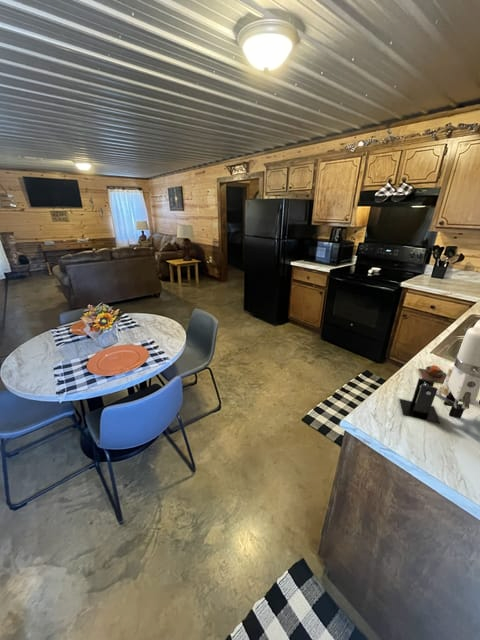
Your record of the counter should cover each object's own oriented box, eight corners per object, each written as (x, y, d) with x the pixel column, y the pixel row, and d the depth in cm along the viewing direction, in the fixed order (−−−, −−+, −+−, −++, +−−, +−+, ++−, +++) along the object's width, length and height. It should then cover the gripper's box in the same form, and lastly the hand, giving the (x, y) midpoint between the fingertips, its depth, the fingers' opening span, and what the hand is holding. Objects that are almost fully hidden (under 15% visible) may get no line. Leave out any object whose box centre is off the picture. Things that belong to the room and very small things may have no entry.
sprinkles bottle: (446, 390, 106) (457, 361, 101) (457, 397, 102) (468, 368, 97) (436, 391, 106) (447, 363, 100) (447, 398, 101) (458, 369, 96)
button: (437, 369, 115) (438, 366, 114) (439, 373, 112) (441, 370, 111) (429, 368, 116) (430, 364, 115) (430, 371, 113) (432, 368, 112)
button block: (443, 375, 116) (446, 368, 115) (449, 386, 109) (452, 379, 107) (417, 370, 119) (419, 364, 118) (421, 381, 112) (424, 374, 111)
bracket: (432, 409, 96) (443, 380, 91) (439, 426, 89) (451, 395, 84) (398, 401, 100) (407, 373, 95) (402, 417, 92) (411, 387, 87)
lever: (451, 403, 91) (456, 399, 90) (455, 412, 87) (461, 408, 86) (418, 383, 93) (423, 379, 92) (421, 392, 89) (426, 387, 88)
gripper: (497, 383, 74) (474, 432, 81) (474, 355, 89) (456, 398, 96) (465, 377, 77) (445, 425, 84) (447, 351, 91) (432, 393, 98)
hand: (451, 410), depth 90 cm, fingers closed on lever, 5 cm apart
